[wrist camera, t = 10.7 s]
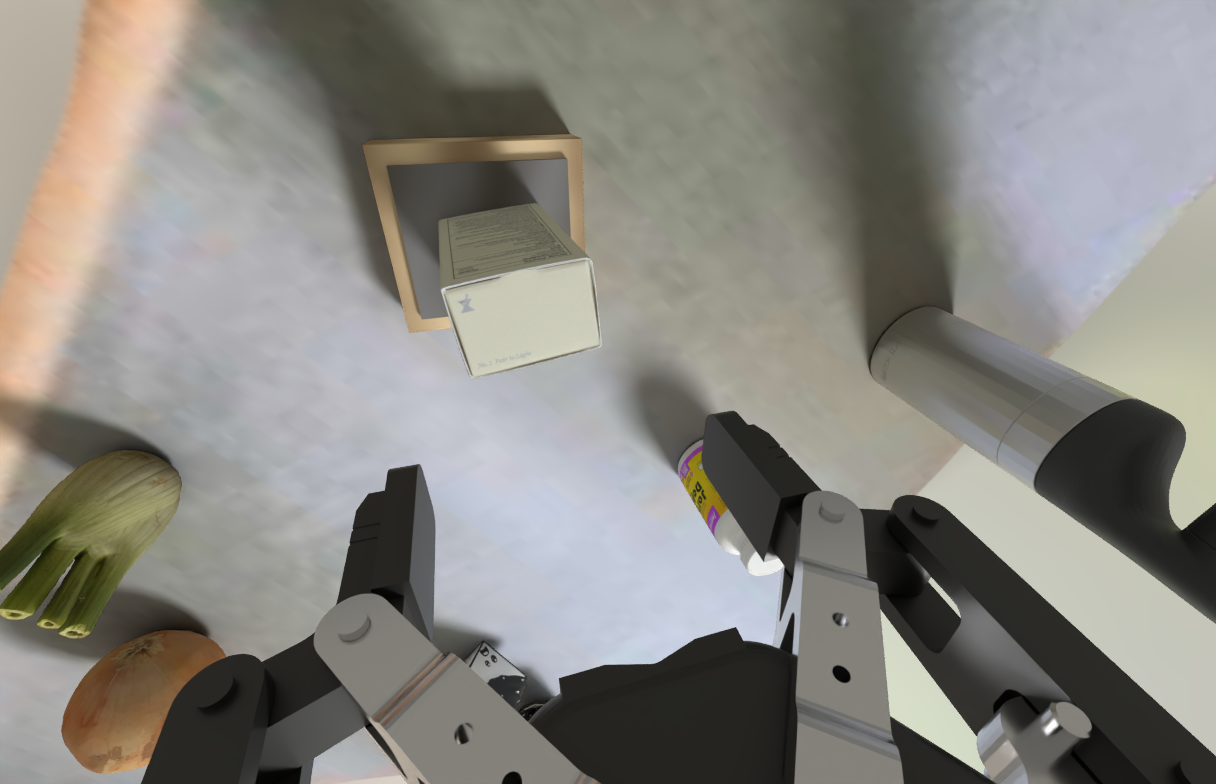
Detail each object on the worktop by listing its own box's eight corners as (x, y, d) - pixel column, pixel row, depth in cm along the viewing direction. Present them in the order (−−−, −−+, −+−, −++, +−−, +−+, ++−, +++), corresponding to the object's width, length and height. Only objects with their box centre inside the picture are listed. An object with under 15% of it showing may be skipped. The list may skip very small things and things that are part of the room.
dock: (570, 134, 31) (583, 139, 28) (577, 296, 37) (588, 314, 34) (368, 140, 28) (361, 146, 25) (411, 315, 34) (408, 335, 31)
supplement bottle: (670, 449, 48) (732, 550, 38) (729, 424, 49) (807, 516, 38) (681, 492, 52) (740, 594, 42) (736, 468, 53) (808, 563, 42)
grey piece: (584, 691, 69) (603, 771, 61) (524, 724, 69) (535, 808, 61) (486, 618, 54) (493, 712, 46) (410, 661, 54) (405, 761, 46)
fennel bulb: (84, 441, 32) (-68, 595, 23) (173, 433, 34) (65, 575, 24) (123, 503, 35) (2, 663, 26) (202, 494, 37) (117, 642, 27)
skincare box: (457, 287, 30) (464, 385, 21) (436, 215, 28) (432, 288, 18) (554, 267, 32) (604, 352, 22) (541, 197, 29) (593, 256, 19)
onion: (147, 684, 45) (83, 816, 37) (78, 624, 40) (-14, 763, 32) (262, 653, 47) (224, 771, 39) (212, 592, 42) (156, 715, 34)
